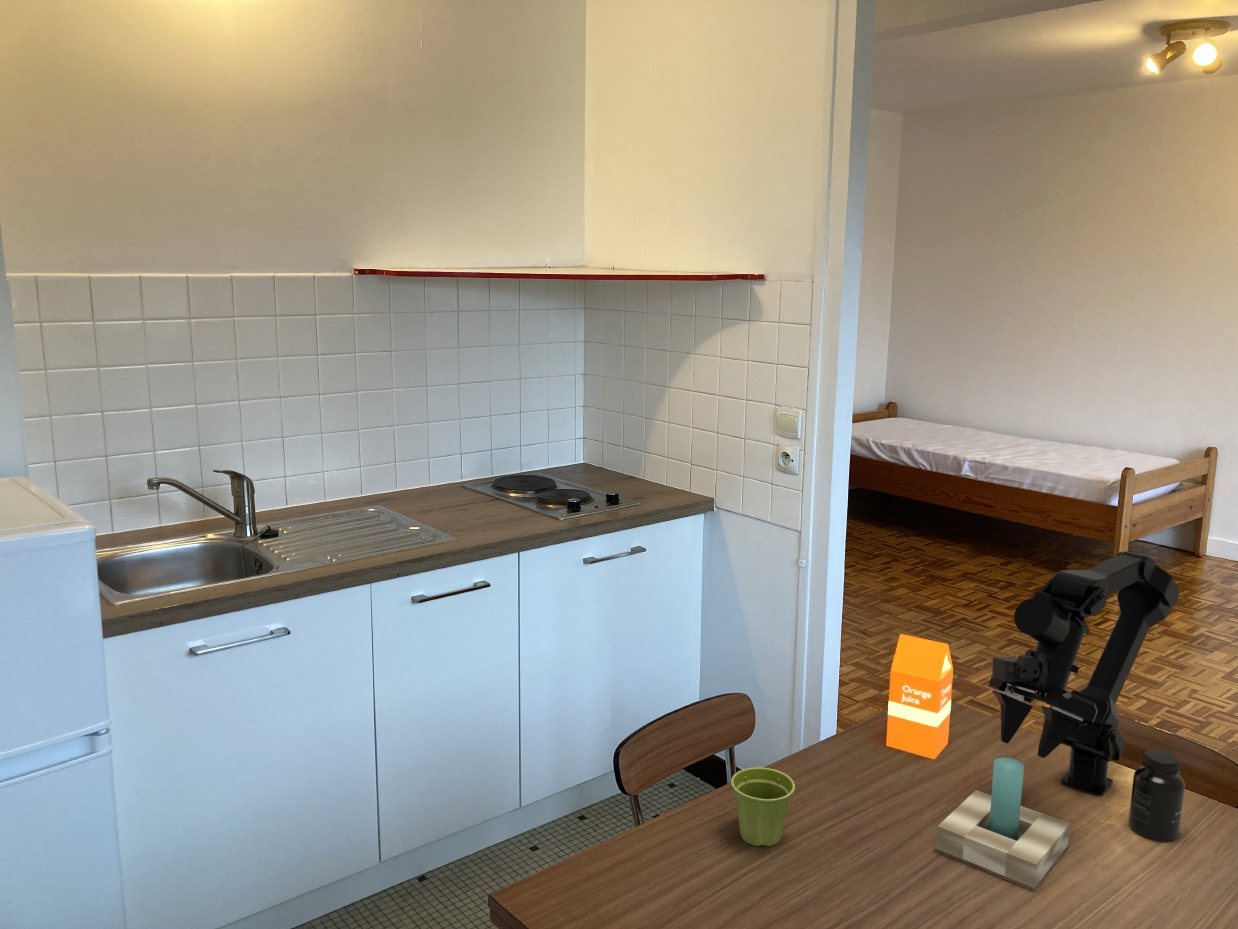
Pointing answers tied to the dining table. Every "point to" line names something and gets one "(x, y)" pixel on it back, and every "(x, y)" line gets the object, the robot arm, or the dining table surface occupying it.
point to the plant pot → (762, 804)
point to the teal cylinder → (1006, 797)
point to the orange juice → (920, 697)
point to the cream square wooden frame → (1003, 842)
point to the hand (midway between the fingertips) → (1021, 749)
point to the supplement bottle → (1157, 797)
